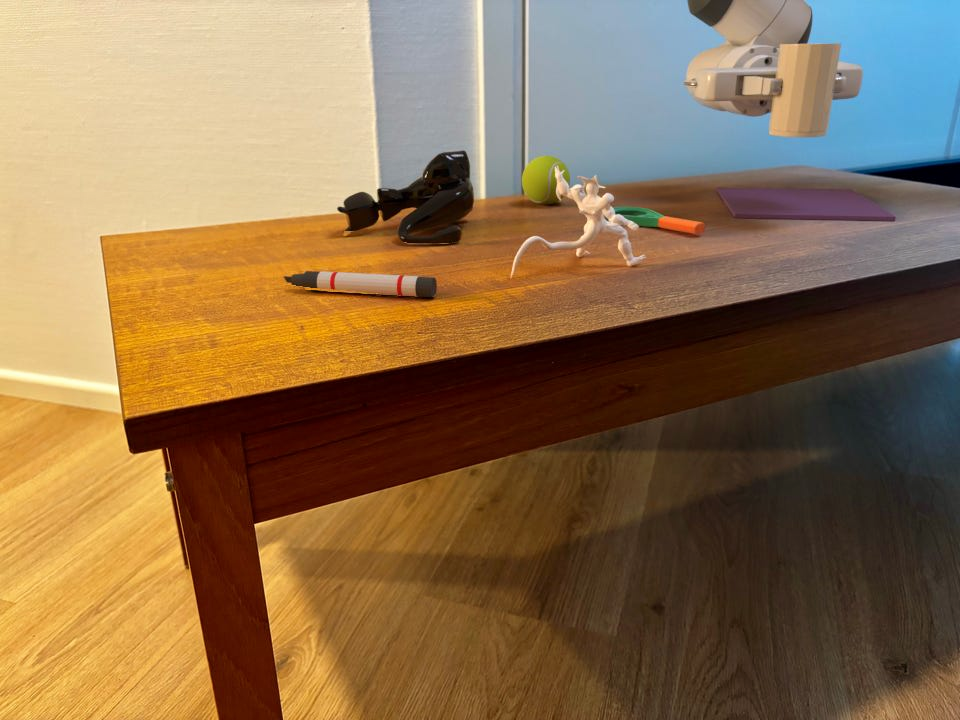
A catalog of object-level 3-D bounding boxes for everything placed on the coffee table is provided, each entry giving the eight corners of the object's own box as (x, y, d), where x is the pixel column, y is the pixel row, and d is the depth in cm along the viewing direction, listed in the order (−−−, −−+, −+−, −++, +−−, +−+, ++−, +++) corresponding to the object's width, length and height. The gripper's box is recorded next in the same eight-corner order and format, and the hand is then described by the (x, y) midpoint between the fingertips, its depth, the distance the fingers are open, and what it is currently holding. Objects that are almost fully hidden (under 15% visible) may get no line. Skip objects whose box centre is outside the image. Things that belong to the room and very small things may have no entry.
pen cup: (818, 131, 91) (832, 43, 87) (832, 137, 85) (847, 43, 81) (764, 131, 92) (775, 44, 88) (774, 137, 86) (786, 44, 82)
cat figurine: (507, 256, 92) (371, 298, 88) (464, 205, 102) (339, 240, 97) (504, 185, 86) (356, 227, 81) (458, 138, 95) (324, 173, 90)
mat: (850, 193, 113) (851, 189, 113) (895, 221, 95) (896, 216, 95) (716, 191, 117) (716, 187, 116) (734, 218, 98) (735, 213, 98)
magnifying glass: (594, 219, 99) (595, 206, 98) (626, 213, 102) (627, 201, 101) (682, 240, 87) (684, 226, 87) (715, 233, 91) (717, 219, 90)
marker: (437, 294, 70) (436, 274, 69) (431, 301, 68) (430, 280, 67) (289, 286, 73) (287, 267, 72) (280, 292, 71) (277, 272, 71)
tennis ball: (578, 203, 109) (580, 155, 107) (550, 211, 104) (551, 160, 102) (540, 198, 114) (541, 151, 111) (512, 205, 109) (512, 156, 106)
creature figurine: (659, 244, 79) (633, 154, 70) (635, 323, 73) (604, 235, 65) (561, 248, 85) (526, 165, 76) (531, 321, 79) (491, 240, 70)
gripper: (680, 57, 96) (725, 58, 83) (828, 53, 98) (894, 54, 85) (676, 108, 98) (719, 117, 86) (821, 103, 100) (884, 111, 88)
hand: (808, 85), depth 85 cm, fingers closed on pen cup, 6 cm apart
